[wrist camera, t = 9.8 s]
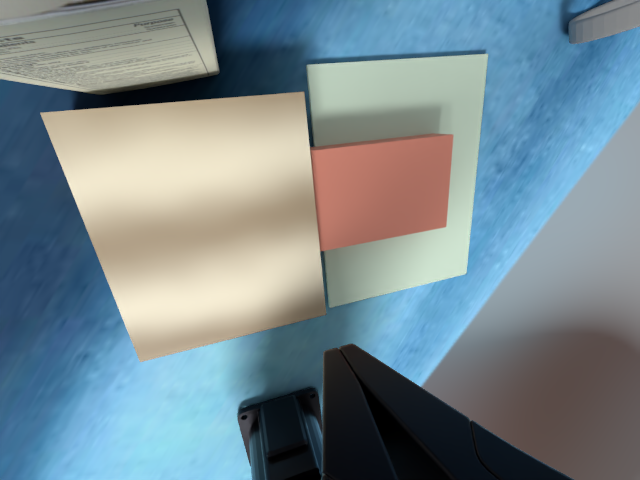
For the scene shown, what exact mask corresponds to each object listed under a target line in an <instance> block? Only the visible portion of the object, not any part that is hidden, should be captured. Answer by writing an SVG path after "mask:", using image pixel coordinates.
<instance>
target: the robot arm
mask: <svg viewBox="0 0 640 480" xmlns="http://www.w3.org/2000/svg"><path fill="white" fill-rule="evenodd" d="M311 394H312V395H311ZM243 415H245V416H243ZM237 416H238V423H239V426H240V430H241V434H242V437H243V441H244V445H245V448H246V452H247V456H248V459H249V463H250V466H251V473H252V480H574V479H572V478H570V477H568V476H567V475H565V474H563V473H561V472H559V471H557V470H555V469H554V468H552V467H550V466H548V465H546V464H545V463H543V462H541V461H539V460H537V459H536V458H534V457H532V456H530V455H529V454H527V453H525V452H523V451H521V450H520V449H518V448H516V447H514V446H513V445H511V444H510V443H508V442H506V441H505V440H503V439H501V438H500V437H498V436H496V435H495V434H493V433H492V432H490V431H488V430H487V429H485V428H484V427H482V426H481V425H479V424H478V423H476V422H474V421H473V420H472V421H470V419H469V418H468V417H466V416H465V415H463V414H462V413H460V412H459V411H457V410H456V409H454V408H452V407H451V406H449V405H448V404H446V403H445V402H443V401H441V400H440V399H438V398H437V397H435V396H433V395H432V394H431V393H429V392H428V391H426V390H425V389H423V388H421V387H420V386H418V385H417V384H415V383H414V382H412V381H411V380H409V379H407V378H406V377H404V376H403V375H401V374H400V373H398V372H397V371H395V370H393V369H392V368H390V367H389V366H387V365H386V364H384V363H383V362H381V361H379V360H378V359H376V358H375V357H373V356H372V355H370V354H369V353H367V352H365V351H364V350H362V349H361V348H359V347H358V346H356V345H354V344H348V345H344V346H341V347H339V349H338V348H333V349H329V350H326V351H324V352H323V410H322V420H321V412H320V404H319V396H318V392H317V389H316V388H308V389H305V390H302V391H299V392H295V393H292V394H289V395H286V396H282V397H279V398H276V399H273V400H269V401H266V402H263V403H260V404H256V405H253V406H250V407H246V408H243V409H241V410H240V411H238V413H237Z"/></svg>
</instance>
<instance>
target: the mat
mask: <svg viewBox="0 0 640 480" xmlns="http://www.w3.org/2000/svg"><path fill="white" fill-rule="evenodd" d="M487 61H488V54H476V55H459V56H443V57H426V58H409V59H393V60H376V61H360V62H343V63H326V64H310V65H306V71H307V82H308V92H309V103H310V113H311V124H312V135H313V145H314V147H317V146H326V145H335V144H344V143H353V142H361V141H370V140H379V139H388V138H397V137H406V136H415V135H424V134H433V133H435V134H454V135H453V148H452V161H451V173H450V186H449V199H448V212H447V225H446V227H444V228H439V229H434V230H429V231H424V232H419V233H413V234H408V235H403V236H398V237H393V238H388V239H383V240H377V241H372V242H367V243H362V244H357V245H352V246H347V247H341V248H336V249H331V250H326V251H324V261H325V272H326V282H327V293H328V303H329V307H330V308H332V307H336V306H340V305H344V304H348V303H352V302H356V301H360V300H364V299H368V298H372V297H376V296H380V295H384V294H388V293H392V292H396V291H400V290H404V289H408V288H412V287H416V286H420V285H424V284H428V283H432V282H436V281H440V280H444V279H448V278H452V277H456V276H460V275H464V274H466V271H467V261H468V251H469V241H470V231H471V221H472V211H473V201H474V191H475V181H476V171H477V161H478V151H479V141H480V131H481V121H482V111H483V101H484V91H485V81H486V71H487Z"/></svg>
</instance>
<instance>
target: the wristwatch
mask: <svg viewBox="0 0 640 480" xmlns="http://www.w3.org/2000/svg"><path fill="white" fill-rule="evenodd" d="M639 26H640V0H613V1H610V2H608V3H605V4H603V5H600V6H598V7H596V8H593V9H591V10H589V11H587V12H585V13H583V14H581V15H579V16H577V17H575V18H574V19H572V20H571V21H570V22H569V43H570V44H578V43H584V42H588V41H592V40H596V39H600V38H604V37H607V36H611V35H614V34H617V33H621V32H624V31H627V30H630V29H633V28H636V27H639Z"/></svg>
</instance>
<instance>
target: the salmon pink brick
mask: <svg viewBox="0 0 640 480" xmlns="http://www.w3.org/2000/svg"><path fill="white" fill-rule="evenodd" d="M453 135H454V134H435V133H433V134H424V135H415V136H406V137H397V138H388V139H379V140H370V141H361V142H353V143H344V144H335V145H326V146H317V147H310V155H311V165H312V175H313V185H314V195H315V205H316V215H317V225H318V235H319V245H320V252H321V251H326V250H331V249H336V248H341V247H347V246H352V245H357V244H362V243H367V242H372V241H377V240H383V239H388V238H393V237H398V236H403V235H408V234H413V233H419V232H424V231H429V230H434V229H439V228H444V227H446V225H447V212H448V199H449V186H450V173H451V161H452V148H453Z"/></svg>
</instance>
